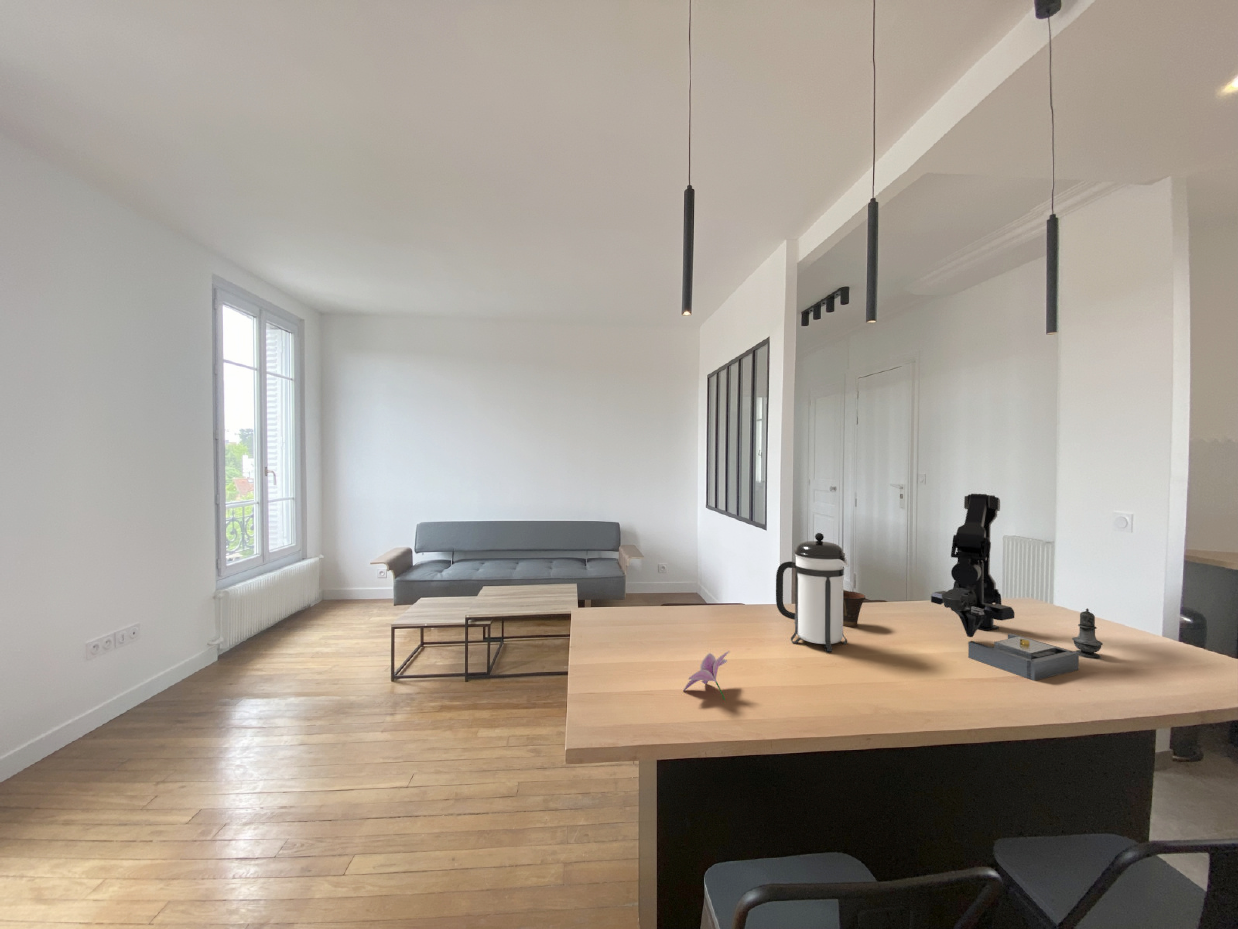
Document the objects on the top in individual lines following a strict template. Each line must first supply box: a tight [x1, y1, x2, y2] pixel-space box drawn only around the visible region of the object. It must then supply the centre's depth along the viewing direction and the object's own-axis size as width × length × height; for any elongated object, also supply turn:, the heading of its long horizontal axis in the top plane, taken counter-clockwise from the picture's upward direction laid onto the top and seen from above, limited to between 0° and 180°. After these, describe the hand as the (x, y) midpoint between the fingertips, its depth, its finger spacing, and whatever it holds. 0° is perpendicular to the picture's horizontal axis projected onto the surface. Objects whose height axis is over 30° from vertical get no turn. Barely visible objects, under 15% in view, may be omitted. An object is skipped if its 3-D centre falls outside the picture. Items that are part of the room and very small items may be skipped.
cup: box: [843, 590, 866, 628], centre depth 154 cm, size 9×9×10 cm
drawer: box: [993, 636, 1056, 660], centre depth 125 cm, size 10×9×6 cm
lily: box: [682, 650, 730, 701], centre depth 108 cm, size 12×12×10 cm
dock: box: [967, 633, 1080, 682], centre depth 125 cm, size 17×15×4 cm
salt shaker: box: [1071, 608, 1104, 660], centre depth 131 cm, size 6×6×12 cm
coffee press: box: [775, 532, 850, 653], centre depth 139 cm, size 17×16×30 cm
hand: (970, 636), depth 137 cm, fingers closed
